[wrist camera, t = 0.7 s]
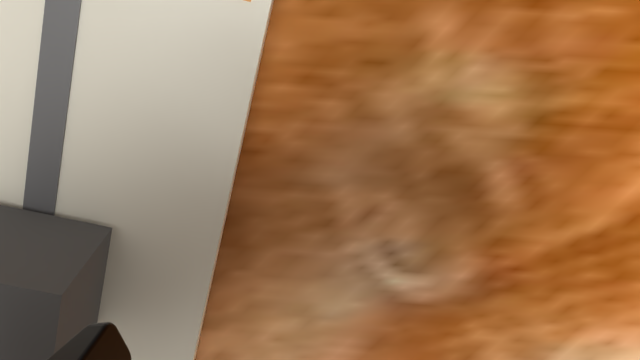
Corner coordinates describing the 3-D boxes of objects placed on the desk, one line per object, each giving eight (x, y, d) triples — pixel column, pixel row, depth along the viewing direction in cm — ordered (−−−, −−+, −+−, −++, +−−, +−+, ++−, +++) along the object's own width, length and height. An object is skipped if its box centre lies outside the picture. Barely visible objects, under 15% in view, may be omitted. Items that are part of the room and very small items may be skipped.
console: (190, 380, 25) (177, 432, 22) (-103, 329, 24) (-158, 376, 21) (313, -179, 19) (317, -211, 16) (-76, -297, 17) (-149, -356, 14)
